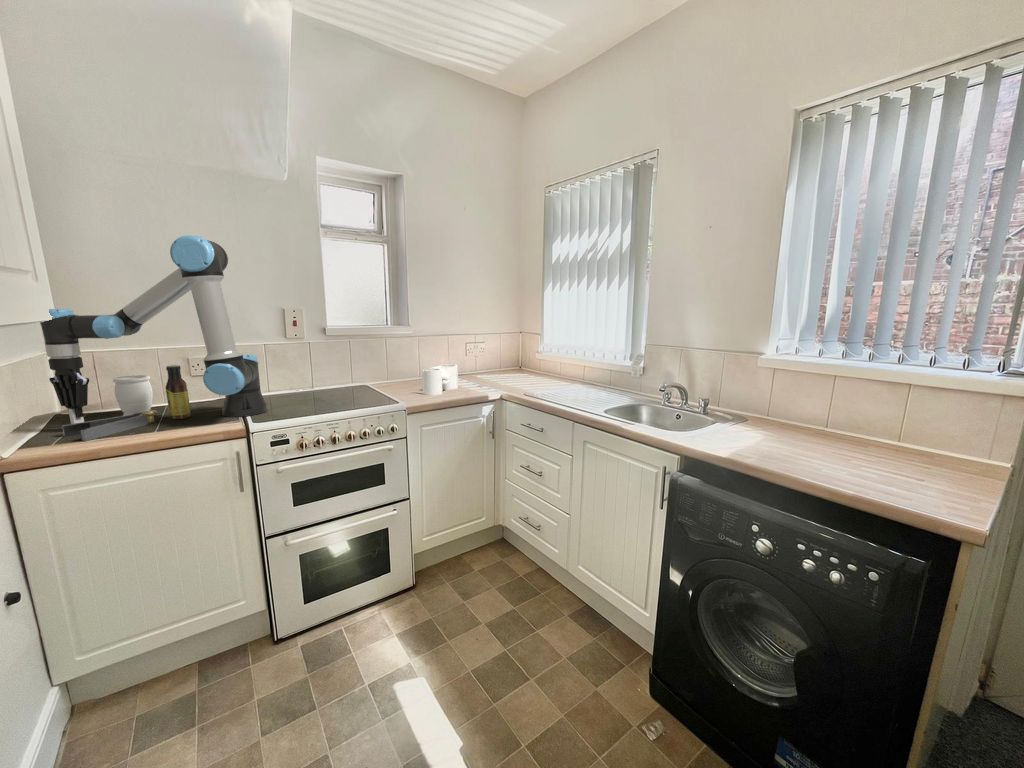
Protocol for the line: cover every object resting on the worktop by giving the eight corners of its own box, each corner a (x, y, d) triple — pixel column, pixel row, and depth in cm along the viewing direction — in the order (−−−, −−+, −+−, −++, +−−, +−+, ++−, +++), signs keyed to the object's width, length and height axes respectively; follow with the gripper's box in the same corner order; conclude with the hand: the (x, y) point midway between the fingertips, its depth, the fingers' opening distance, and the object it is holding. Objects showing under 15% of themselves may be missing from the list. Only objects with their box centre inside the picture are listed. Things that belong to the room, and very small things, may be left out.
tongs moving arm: (155, 420, 152) (154, 409, 152) (159, 421, 150) (158, 411, 149) (63, 435, 133) (61, 424, 132) (66, 438, 131) (64, 426, 130)
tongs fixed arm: (151, 421, 151) (149, 411, 150) (157, 421, 150) (156, 412, 150) (78, 440, 129) (76, 429, 128) (85, 441, 128) (83, 430, 128)
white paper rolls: (437, 396, 198) (437, 371, 196) (420, 394, 201) (419, 370, 199) (461, 387, 221) (461, 364, 219) (445, 385, 224) (445, 363, 222)
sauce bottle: (173, 416, 157) (166, 364, 154) (193, 415, 160) (186, 364, 156) (167, 420, 151) (159, 367, 148) (187, 419, 154) (180, 366, 150)
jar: (163, 413, 162) (157, 375, 159) (137, 420, 152) (130, 380, 149) (138, 412, 163) (132, 374, 160) (111, 419, 153) (104, 379, 150)
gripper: (94, 356, 137) (106, 424, 141) (62, 355, 139) (75, 422, 144) (67, 359, 130) (81, 431, 134) (34, 357, 132) (48, 428, 136)
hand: (78, 426), depth 139 cm, fingers closed
